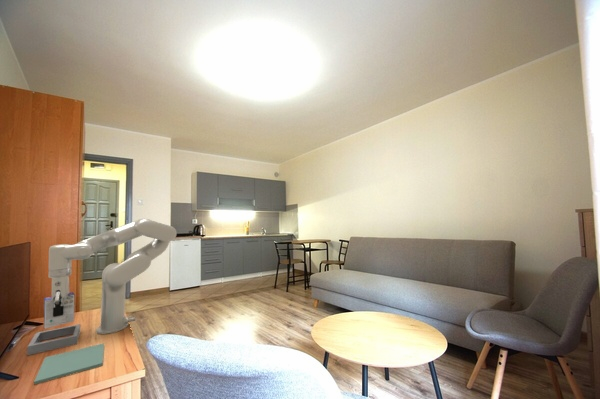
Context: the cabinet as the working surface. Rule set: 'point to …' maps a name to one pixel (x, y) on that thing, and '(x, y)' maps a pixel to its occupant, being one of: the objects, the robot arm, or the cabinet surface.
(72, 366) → the place mat
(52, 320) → the ink cartridge box
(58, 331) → the pocket holder
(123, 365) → the cabinet surface
